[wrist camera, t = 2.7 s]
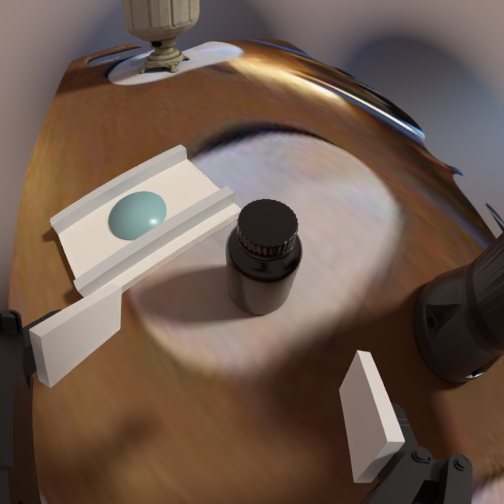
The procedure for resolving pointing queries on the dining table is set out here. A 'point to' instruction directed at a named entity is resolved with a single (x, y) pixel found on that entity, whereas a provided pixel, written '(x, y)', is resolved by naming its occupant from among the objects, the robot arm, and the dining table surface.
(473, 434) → the dining table surface
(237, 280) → the supplement bottle
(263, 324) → the dining table surface
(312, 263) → the dining table surface
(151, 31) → the samovar
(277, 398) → the dining table surface
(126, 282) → the rail cradle
